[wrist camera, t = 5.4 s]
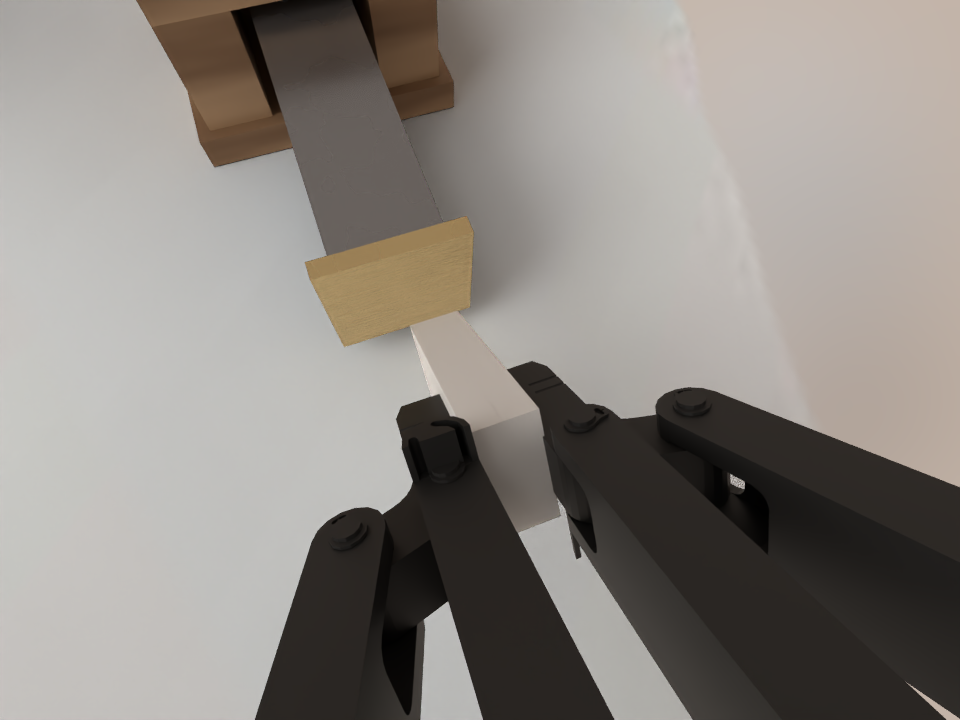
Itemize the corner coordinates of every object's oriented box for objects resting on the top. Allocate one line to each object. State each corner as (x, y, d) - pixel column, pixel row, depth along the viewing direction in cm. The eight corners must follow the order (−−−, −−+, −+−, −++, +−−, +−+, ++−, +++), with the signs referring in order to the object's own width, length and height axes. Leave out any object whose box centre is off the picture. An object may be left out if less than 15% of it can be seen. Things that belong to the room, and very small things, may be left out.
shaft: (470, 307, 20) (473, 232, 16) (344, 347, 19) (310, 280, 15) (327, -44, 27) (301, -167, 22) (229, -25, 26) (182, -148, 22)
